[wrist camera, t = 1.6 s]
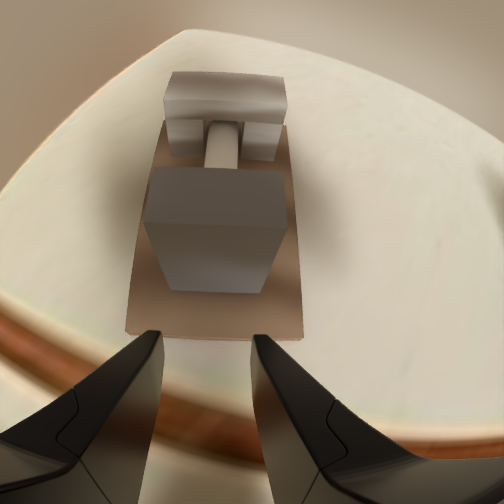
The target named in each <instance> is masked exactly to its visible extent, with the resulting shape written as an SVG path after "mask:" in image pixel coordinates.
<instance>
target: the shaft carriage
mask: <svg viewBox="0 0 504 504" xmlns="http://www.w3.org/2000/svg"><path fill="white" fill-rule="evenodd" d="M238 129H239V126H238V123H237V122H236V121H223V120H212V121H211V122H210V124H209V131H208V139H207V148H206V156H205V165H204V167H154V170H153V174H152V179H151V183H150V188H149V193H148V198H147V203H146V208H145V213H144V219H143V224H144V227H145V229H146V232H147V234H148V237H149V240H150V242H151V245H152V247H153V250H154V252H155V254H156V257H157V259H158V262H159V264H160V267H161V269H162V271H163V274H164V276H165V278H166V281H167V283H168V285H169V288H170V290H177V291H199V292H225V293H260V291H261V289H262V287H263V285H264V282H265V280H266V278H267V275H268V273H269V271H270V268H271V266H272V264H273V262H274V259H275V257H276V255H277V252H278V250H279V248H280V245H281V243H282V241H283V238H284V236H285V233H286V231H287V229H288V224H287V211H286V197H285V185H284V173H283V172H277V171H263V170H248V169H237V161H238Z"/></svg>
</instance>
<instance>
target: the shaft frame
mask: <svg viewBox="0 0 504 504" xmlns="http://www.w3.org/2000/svg"><path fill="white" fill-rule="evenodd" d="M163 101H164V110H165V118H166V120H164V121H163V124H162V128H161V132H160V135H159V139H158V143H157V147H156V151H155V155H154V159H153V163H152V167H151V172H150V176H149V180H148V185H147V190H146V194H145V199H144V204H143V209H142V214H141V219H140V225H139V230H138V236H137V242H136V248H135V255H134V261H133V268H132V275H131V282H130V290H129V299H128V308H127V317H126V328H125V332H127V333H128V334H130V335H141V334H143V333H144V332H145V331H147V330H159V331H161V332H162V335H163V337H168V338H184V339H205V340H238V341H252V337H253V335H254V334H267V335H269V336H270V337H271V338H272V339H273V340H274V341H294V340H301V339H302V338H304V331H303V312H302V294H301V279H300V264H299V251H298V238H297V226H296V214H295V203H294V193H293V183H292V173H291V164H290V154H289V146H288V137H287V129H286V126H284V125H283V122H284V118H285V114H286V110H287V106H288V105H287V98H286V91H285V85H284V79H283V77H276V76H267V75H256V74H243V73H226V72H173V73H172V76H171V79H170V81H169V84H168V87H167V90H166V93H165V96H164V99H163ZM212 120H223V121H241V122H237V123H238V126H239V129H238V161H237V169H248V170H263V171H277V172H283V173H284V185H285V197H286V211H287V224H288V229H287V231H286V233H285V236H284V238H283V241H282V243H281V245H280V248H279V250H278V252H277V255H276V257H275V259H274V262H273V264H272V266H271V268H270V271H269V273H268V275H267V278H266V280H265V282H264V285H263V287H262V289H261V291H260V293H225V292H199V291H177V290H170V288H169V285H168V283H167V281H166V278H165V276H164V274H163V271H162V269H161V267H160V264H159V262H158V259H157V257H156V254H155V252H154V250H153V247H152V245H151V242H150V240H149V237H148V234H147V232H146V229H145V227H144V224H143V219H144V213H145V208H146V203H147V198H148V193H149V188H150V183H151V179H152V174H153V170H154V167H204V165H205V156H206V148H207V139H208V131H209V124H210V122H211V121H212Z"/></svg>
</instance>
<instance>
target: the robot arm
mask: <svg viewBox="0 0 504 504" xmlns="http://www.w3.org/2000/svg"><path fill="white" fill-rule="evenodd" d="M250 365H251V382H252V398H253V408H254V414H255V418H256V423H257V428H258V433H259V437H260V442H261V446H262V451H263V455H264V460H265V464H266V469H267V473H268V478H269V482H270V486H271V491H272V495H273V499H274V503H275V504H504V457H495V458H481V459H429V458H425V457H421V456H419V455H416V454H414V453H412V452H410V451H409V450H407V449H405V448H404V447H402V446H401V445H399V444H397V443H396V442H394V441H393V440H391V439H390V438H388V437H387V436H385V435H384V434H382V433H381V432H379V431H378V430H376V429H375V428H373V427H372V426H370V425H369V424H368V423H366V422H365V421H363V420H362V419H361V418H359V417H358V416H357V415H356V414H354V413H353V412H352V411H351V410H349V409H348V408H347V407H346V406H345V405H344V404H342V403H341V402H340V401H339V400H338V399H336V398H335V397H334V396H333V395H332V394H331V393H330V392H329V391H328V390H327V389H325V388H324V387H323V386H322V385H321V384H320V383H319V382H318V381H317V380H316V379H314V378H313V377H312V376H311V375H310V374H309V373H308V372H307V371H306V370H305V369H304V368H303V367H301V366H300V365H299V364H298V363H297V362H296V361H295V360H294V359H293V358H292V357H291V356H290V355H289V354H288V353H286V352H285V351H284V350H283V349H282V348H281V347H280V346H279V345H278V344H277V343H276V342H275V341H274V340H273V339H272V338H271V337H270V336H269V335H267V334H254V335H253V337H252V346H251V357H250ZM163 367H164V345H163V335H162V332H161V331H159V330H147V331H145V332H144V333H143V334H141V335H140V336H139V337H137V338H136V339H135V340H133V341H132V342H131V343H130V344H128V345H127V346H126V347H124V348H123V349H122V350H120V351H119V352H118V353H116V354H115V355H114V356H112V357H111V358H110V359H109V360H107V361H106V362H105V363H103V364H102V365H101V366H99V367H98V368H97V369H95V370H94V371H93V372H92V373H90V374H89V375H88V376H86V377H85V378H84V379H82V380H81V381H80V382H78V383H77V384H76V385H75V386H73V388H70V389H69V390H68V391H66V392H65V393H64V394H63V395H61V396H60V397H58V398H57V399H56V400H54V401H53V402H51V403H50V404H49V405H47V406H45V407H44V408H42V409H41V410H39V411H38V412H36V413H34V414H33V415H31V416H29V417H28V418H26V419H24V420H23V421H21V422H19V423H17V424H16V425H14V426H12V427H11V428H9V429H7V430H6V431H4V432H2V433H0V504H138V500H139V495H140V490H141V485H142V480H143V475H144V470H145V465H146V460H147V456H148V451H149V447H150V442H151V438H152V433H153V429H154V425H155V420H156V416H157V412H158V407H159V402H160V394H161V385H162V376H163Z"/></svg>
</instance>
